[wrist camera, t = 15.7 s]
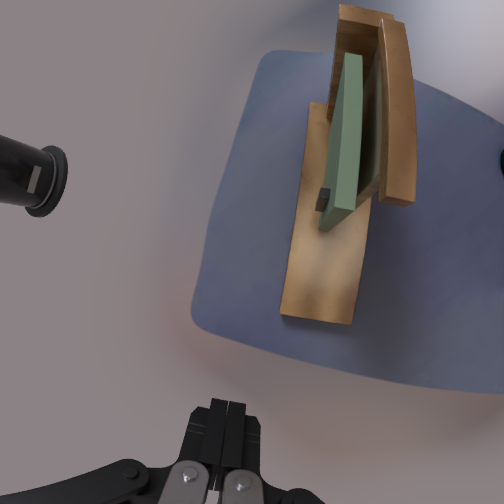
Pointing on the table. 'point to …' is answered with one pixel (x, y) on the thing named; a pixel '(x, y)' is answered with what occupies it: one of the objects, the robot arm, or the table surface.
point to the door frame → (370, 169)
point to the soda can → (502, 159)
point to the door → (343, 148)
